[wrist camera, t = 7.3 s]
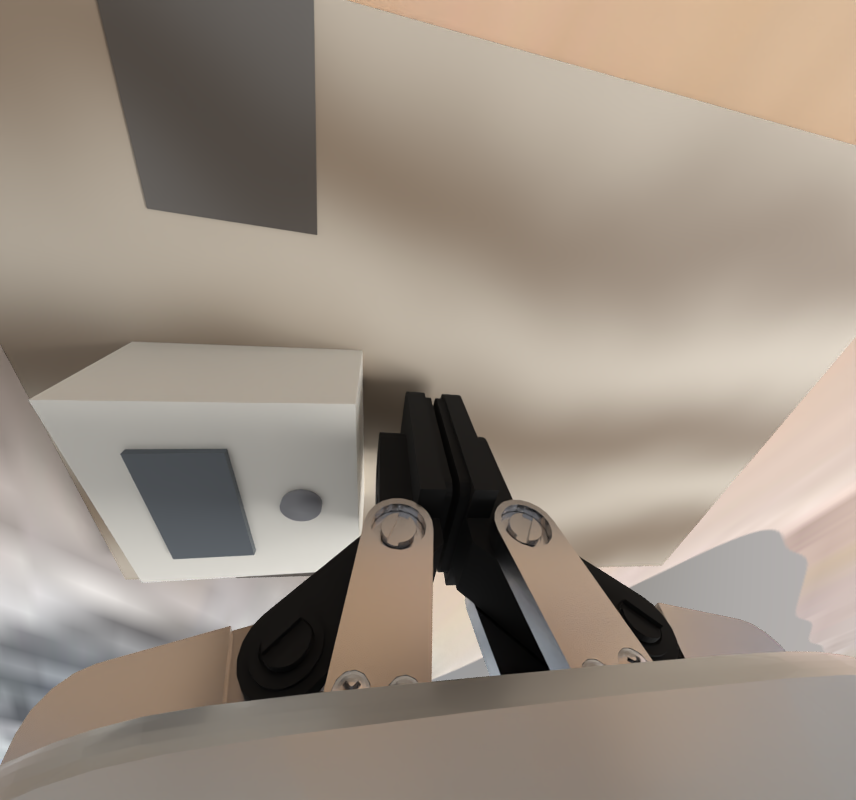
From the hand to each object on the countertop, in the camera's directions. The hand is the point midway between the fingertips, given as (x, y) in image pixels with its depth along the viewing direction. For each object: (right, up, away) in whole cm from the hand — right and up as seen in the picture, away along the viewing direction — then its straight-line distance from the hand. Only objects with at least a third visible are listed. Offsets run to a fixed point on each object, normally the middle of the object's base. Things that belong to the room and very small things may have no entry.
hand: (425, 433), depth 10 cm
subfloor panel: (+2, +1, +2) cm, 3 cm away
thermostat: (-5, 0, 0) cm, 5 cm away
